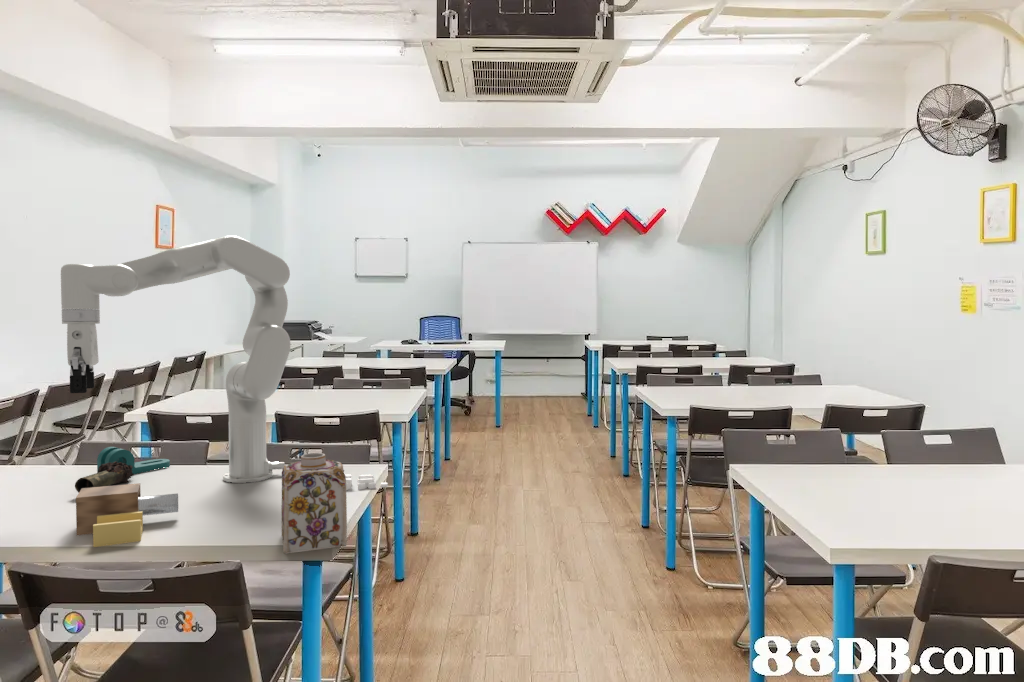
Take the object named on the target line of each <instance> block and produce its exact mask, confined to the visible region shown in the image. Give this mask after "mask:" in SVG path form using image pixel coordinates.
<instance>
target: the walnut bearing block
mask: <svg viewBox="0 0 1024 682" xmlns="http://www.w3.org/2000/svg"><path fill="white" fill-rule="evenodd" d="M138 497H142V496H141V483H139V482H138V483H128V484H115V485H109V486H103V487H91V488H82V489H81V490H80V492H78V494H76V497H75V518H76V519H75V520H76V521H75V525H76V536H81V535H82V536H83V535H91V534H92V535H93V525H94V524H97V516H101V515H111V514H120V513H130V512H139V508H138Z"/></svg>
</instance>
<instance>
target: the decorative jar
mask: <svg viewBox="0 0 1024 682" xmlns="http://www.w3.org/2000/svg"><path fill="white" fill-rule="evenodd" d="M284 465H285V466H284V467H283V469H281V470H282V471H281V505H280V506H281V507H280V508H281V509H280V510H281V511H280V513H281V514H280V515H281V521H280V522H281V536H282V546H283V547H282V548H283V549H282V550H283V554H294V553H300V552H309V551H315V550H325V549H333V548H340V547H347V537H348V535H347V532H348V531H347V528H348V524H347V523H348V522H347V521H348V518H347V517H348V513H347V512H348V511H347V508H348V507H347V505H348V504H347V490H346V478H345V474H346V473H345V469H344V465H343V463H341V461H335V460H333V459H327V458H326V454H325V453H323V452H312V453H311V452H310V453H305V454H302V455H301V456H300V460H299V461H294V462H291V463H288V464H284Z"/></svg>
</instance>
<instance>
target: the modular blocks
mask: <svg viewBox="0 0 1024 682" xmlns="http://www.w3.org/2000/svg"><path fill="white" fill-rule="evenodd" d="M344 474H345V478H346V491H348V490H352V488H353V487H352V474H346V473H344ZM356 479H357V483H356V484H357V490H366V489H367V487H368V489H370V490H371V489H376V487H377V486H376V484H377V483H376V481H375V478H374V475H373V474H360V475H358V478H356ZM388 484H389V483H388V482H385V481H383V482H380V487H381V488H388V487H389V485H388Z"/></svg>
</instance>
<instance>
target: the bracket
mask: <svg viewBox="0 0 1024 682" xmlns="http://www.w3.org/2000/svg"><path fill="white" fill-rule="evenodd" d="M96 459H97V460H96V465H97V466H96V467H97V469H96V471H97V472H98V468H99V466H101V465H102V464H106V463H108V462H111V463H112V462H116V461H117V463H120V462H122V463H125V464H127V465H131V466H133V468H132V473H133V474H134V475H137V473H138V474H142V473H141V472H143V473H147V472H146V471H148V472H151V471H150V470H154V469H158V468H163V467H168V468H169V466H171V465H170V464H171V463H170V462H171V460H170V459H168V458H155V459H148V460H142V461H136V462H135V456H134V454H133V453H132V452H131V451H130V450H127V449H125V448H121V447H116V446H107V447H105V448H103V449H102V450H101V451H100V452H99V453H98V455H97V458H96ZM154 471H155V470H154Z"/></svg>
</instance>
